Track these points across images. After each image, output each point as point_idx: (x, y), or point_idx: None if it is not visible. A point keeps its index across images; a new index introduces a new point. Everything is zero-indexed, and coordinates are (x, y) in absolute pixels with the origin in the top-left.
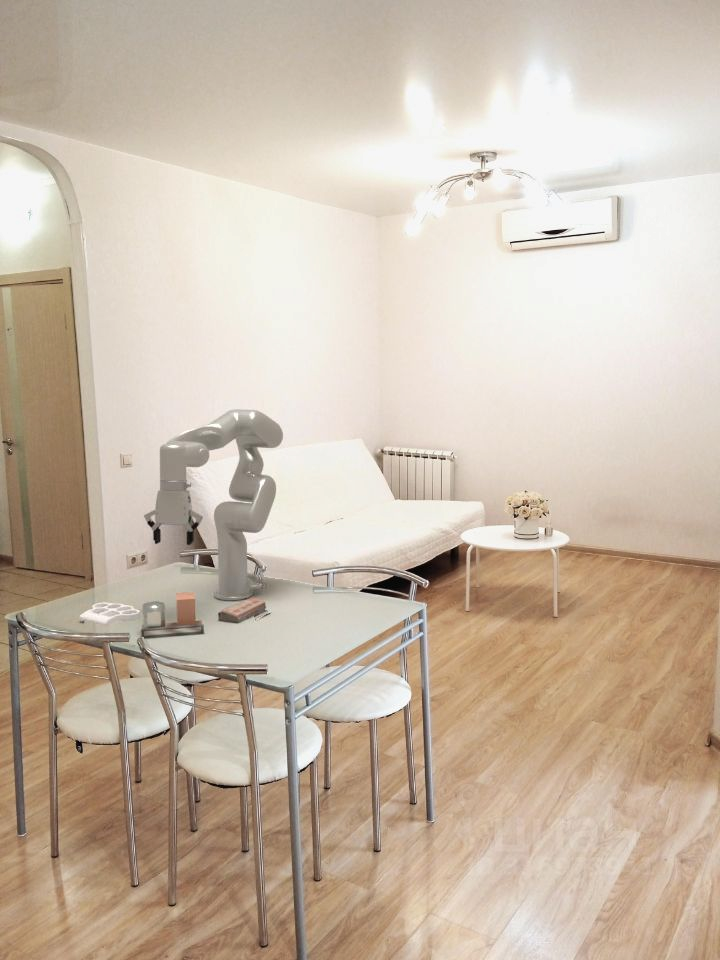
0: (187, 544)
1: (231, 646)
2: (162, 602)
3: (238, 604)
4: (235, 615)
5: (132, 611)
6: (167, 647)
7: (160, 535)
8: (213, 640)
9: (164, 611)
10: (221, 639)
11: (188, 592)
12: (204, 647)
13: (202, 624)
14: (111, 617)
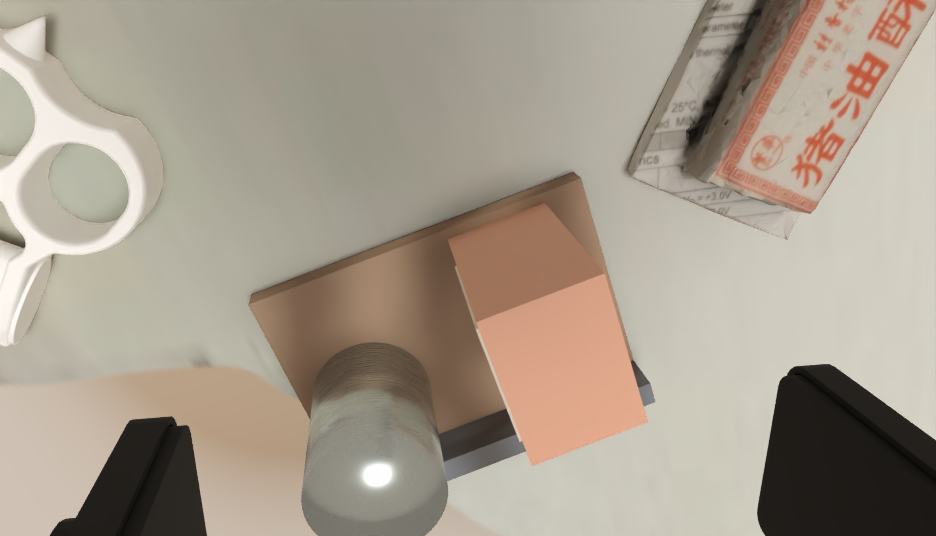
0: (769, 527)
1: (768, 441)
2: (420, 452)
3: (831, 23)
4: (809, 208)
5: (69, 142)
6: (491, 500)
7: (153, 513)
8: (680, 390)
9: (441, 451)
10: (716, 372)
11: (567, 293)
12: (655, 471)
13: (646, 388)
14: (12, 311)
